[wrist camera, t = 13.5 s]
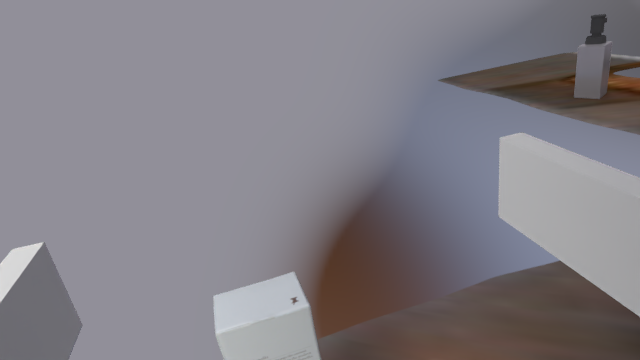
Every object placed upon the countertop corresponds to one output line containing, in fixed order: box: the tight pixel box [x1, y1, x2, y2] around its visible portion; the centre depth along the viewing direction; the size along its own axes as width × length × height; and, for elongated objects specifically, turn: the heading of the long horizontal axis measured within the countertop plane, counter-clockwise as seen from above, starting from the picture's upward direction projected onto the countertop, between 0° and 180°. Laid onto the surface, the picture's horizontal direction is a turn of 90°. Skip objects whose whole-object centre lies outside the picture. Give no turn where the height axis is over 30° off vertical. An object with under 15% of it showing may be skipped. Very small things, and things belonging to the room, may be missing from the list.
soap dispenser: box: [574, 14, 612, 99], centre depth 123 cm, size 6×9×22 cm
